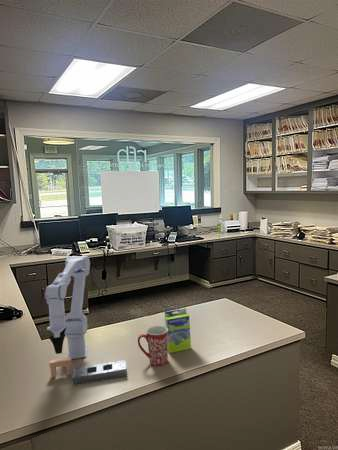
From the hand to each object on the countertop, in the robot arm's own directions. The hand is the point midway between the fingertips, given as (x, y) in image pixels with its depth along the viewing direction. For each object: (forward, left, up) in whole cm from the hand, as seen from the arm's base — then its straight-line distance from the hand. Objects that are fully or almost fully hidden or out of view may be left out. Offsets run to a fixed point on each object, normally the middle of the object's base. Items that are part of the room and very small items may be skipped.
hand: (59, 349), depth 129 cm
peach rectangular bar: (0, 0, -11) cm, 11 cm away
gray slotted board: (+6, +15, -11) cm, 19 cm away
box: (-5, +49, -11) cm, 50 cm away
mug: (+2, +37, -11) cm, 38 cm away
